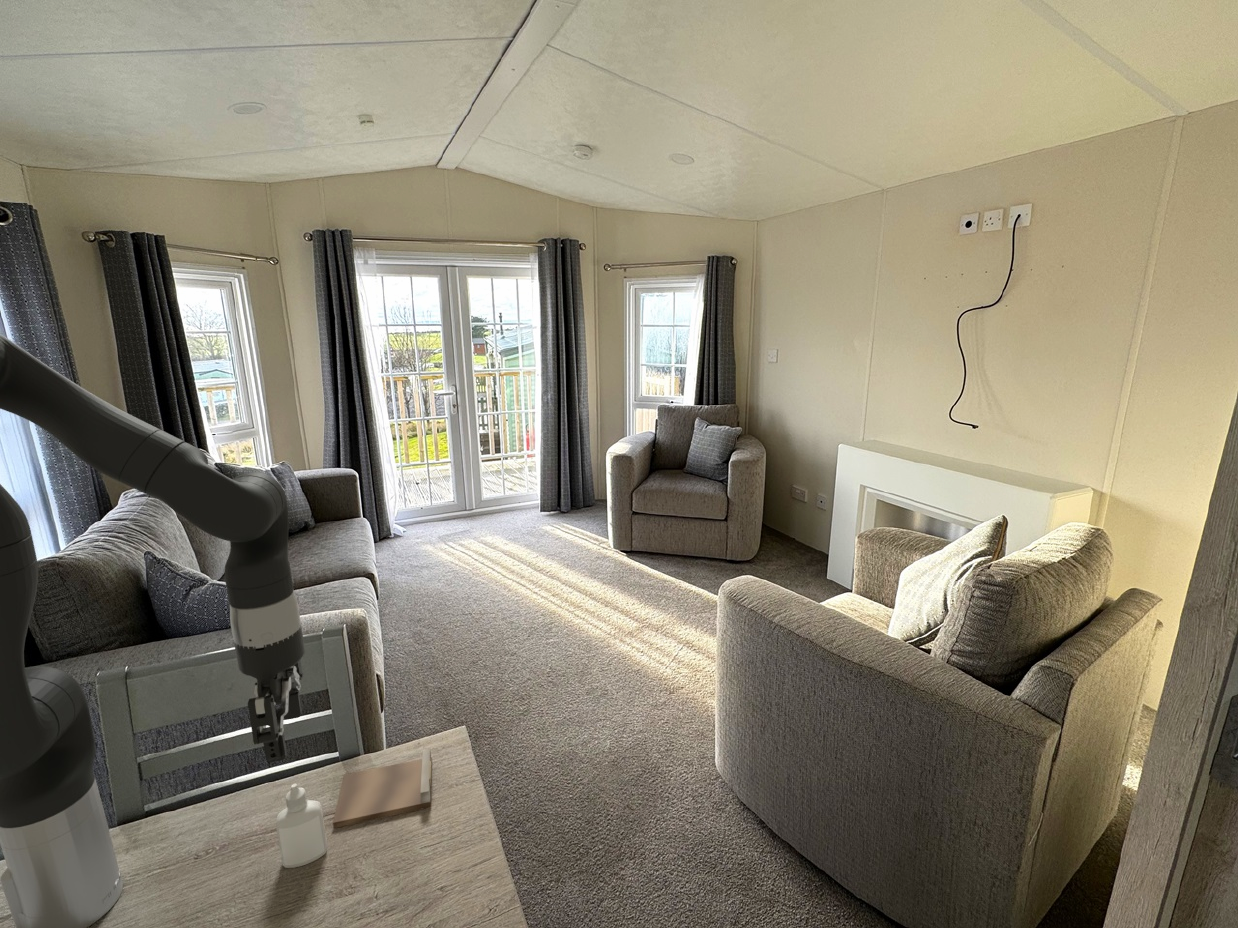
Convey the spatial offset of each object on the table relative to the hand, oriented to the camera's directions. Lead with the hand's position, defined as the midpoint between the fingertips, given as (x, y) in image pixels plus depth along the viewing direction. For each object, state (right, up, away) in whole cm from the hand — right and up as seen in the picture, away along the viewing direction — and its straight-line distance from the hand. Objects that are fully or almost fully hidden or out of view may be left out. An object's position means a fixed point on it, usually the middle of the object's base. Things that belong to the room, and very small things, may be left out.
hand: (285, 737), depth 79 cm
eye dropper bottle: (0, -19, +5) cm, 20 cm away
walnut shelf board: (+7, -16, +16) cm, 24 cm away
